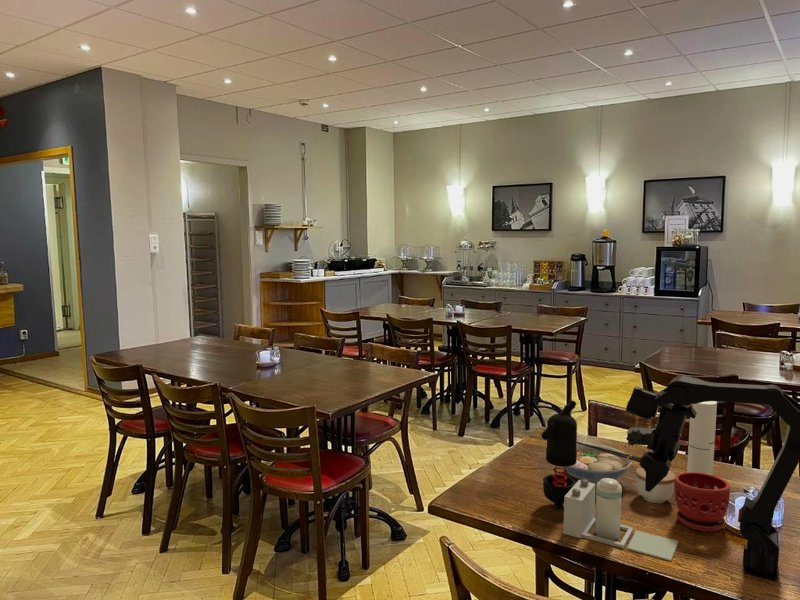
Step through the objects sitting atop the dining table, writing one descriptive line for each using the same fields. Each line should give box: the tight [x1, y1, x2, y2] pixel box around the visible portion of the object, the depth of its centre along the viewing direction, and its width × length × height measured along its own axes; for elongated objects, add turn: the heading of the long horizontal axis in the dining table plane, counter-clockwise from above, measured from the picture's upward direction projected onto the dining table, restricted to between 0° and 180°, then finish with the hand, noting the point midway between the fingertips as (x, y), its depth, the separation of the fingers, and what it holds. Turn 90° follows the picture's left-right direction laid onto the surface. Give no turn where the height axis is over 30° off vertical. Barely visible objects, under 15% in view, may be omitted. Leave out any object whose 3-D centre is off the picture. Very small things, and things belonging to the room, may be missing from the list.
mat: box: [626, 530, 679, 562], centre depth 150 cm, size 10×10×1 cm
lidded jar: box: [635, 466, 677, 504], centre depth 175 cm, size 11×11×9 cm
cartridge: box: [594, 478, 623, 541], centre depth 155 cm, size 6×6×14 cm
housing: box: [563, 479, 635, 550], centre depth 156 cm, size 15×12×11 cm
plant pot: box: [673, 471, 731, 533], centre depth 160 cm, size 13×13×12 cm
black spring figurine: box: [540, 400, 578, 509], centre depth 168 cm, size 14×9×30 cm
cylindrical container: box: [686, 401, 718, 476], centre depth 187 cm, size 7×7×25 cm
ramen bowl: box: [562, 441, 642, 485], centre depth 189 cm, size 25×23×8 cm
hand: (651, 483), depth 150 cm, fingers open, 9 cm apart
